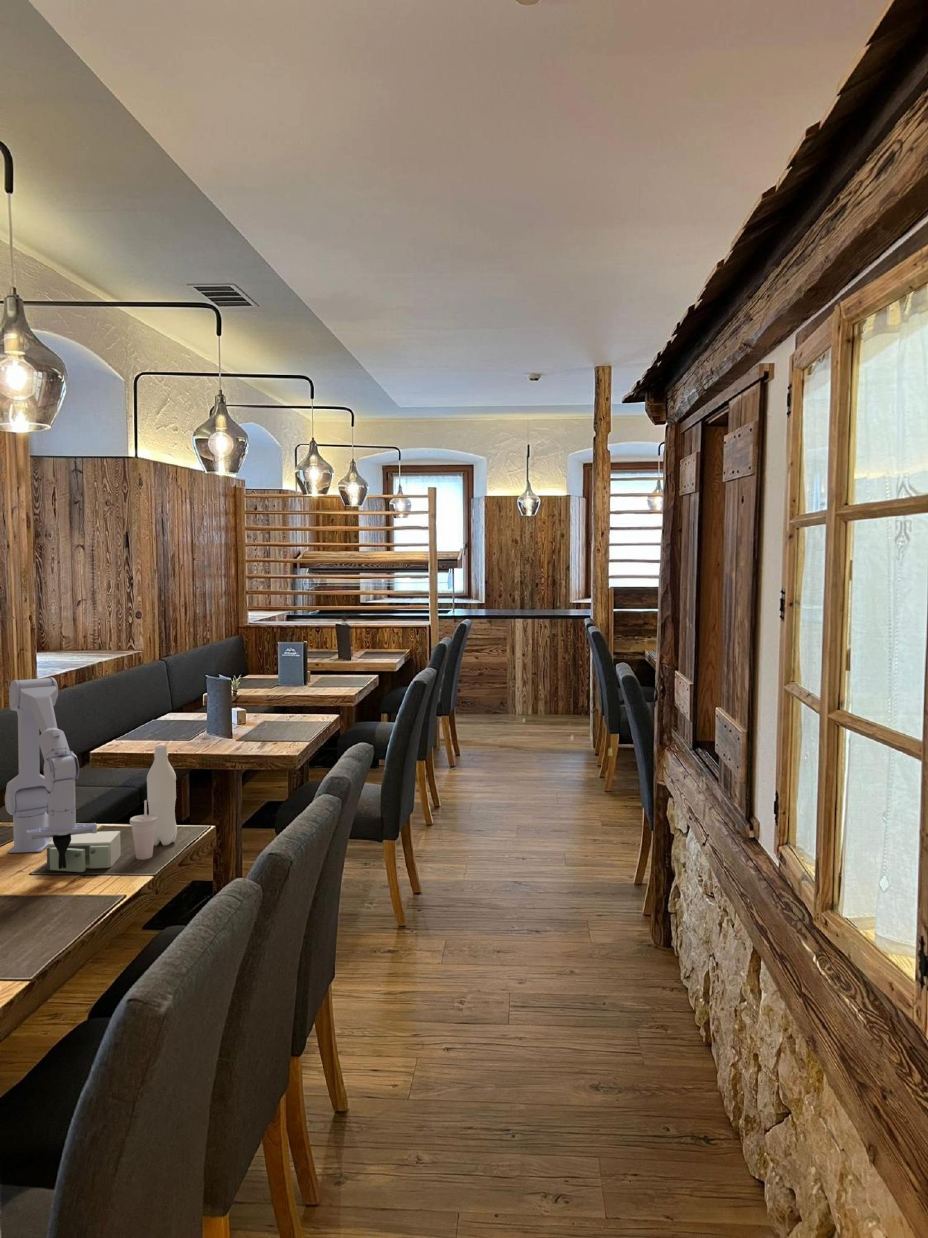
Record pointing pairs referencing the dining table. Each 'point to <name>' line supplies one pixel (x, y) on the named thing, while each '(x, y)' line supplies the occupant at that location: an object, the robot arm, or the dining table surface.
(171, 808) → the water bottle
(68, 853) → the door
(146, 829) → the smoothie
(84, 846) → the cabinet
